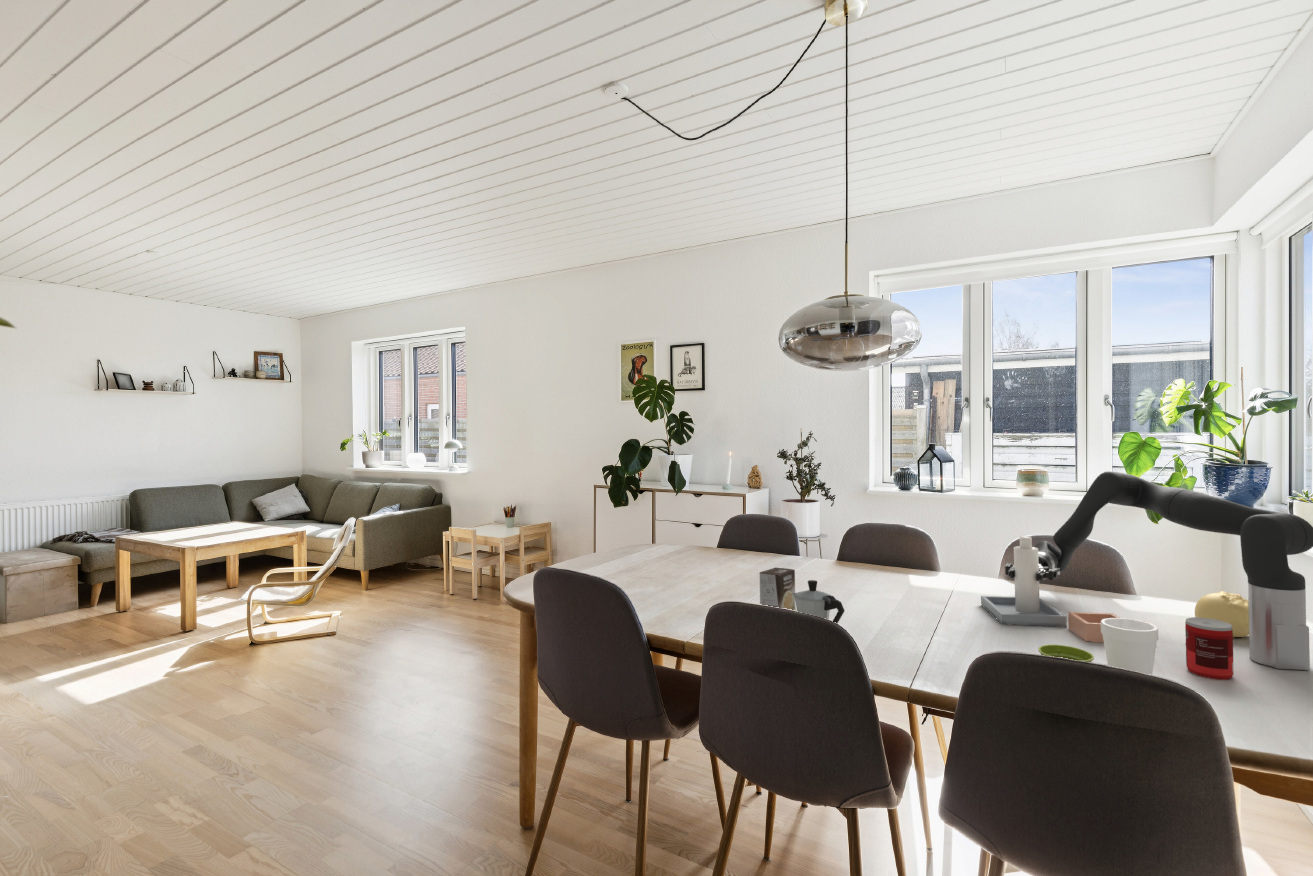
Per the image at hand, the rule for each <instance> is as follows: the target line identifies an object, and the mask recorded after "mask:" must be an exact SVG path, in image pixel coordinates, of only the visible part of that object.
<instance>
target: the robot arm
mask: <svg viewBox="0 0 1313 876" xmlns="http://www.w3.org/2000/svg"><path fill="white" fill-rule="evenodd" d="M1108 504H1112V505H1118V506H1123V507H1134V508H1139V509H1144V510H1148V511H1152V512H1155V513H1156V514H1158V515H1160V517H1162V518H1163V519H1166V520H1167V521H1169V522H1172V523H1174V524H1178V525H1181V526H1183V527H1187V528H1189V529H1194V530H1198V531H1202V532H1203V531H1205V532H1209V533H1211V532H1212V533H1218V534H1227V535H1233V536H1239V538H1240V541H1239V542H1240V550H1241V562H1242V567H1243V570H1244V572H1245V575H1246V576H1247V590H1248V591H1247V595H1248V596H1247V598H1248V600H1247V601H1248V612H1249V635H1248V647H1249V648H1248V649H1249V655H1248V656H1249V659H1250V660H1251V661H1254V662H1255V663H1258V664H1261V665H1265V666H1268V667H1272V668H1274V669H1277V670H1278V669H1279V670H1295V671H1296V670H1297V671H1298V670H1299V671H1301V670H1302V671H1310V670H1311V657H1310V653H1311V652H1310V627H1309V626H1307V607H1306V606H1307V604H1306V603H1307V601H1306V597H1307V596H1306V595H1307V594H1306V593H1307V592H1306V591H1307V590H1306V578H1305V576H1304V575H1303V574H1301V573H1299V572H1296V571H1293V569H1291V567H1289V561H1288V560H1289V559H1288V556H1294V555H1299V554H1302V553H1305V552H1307V551H1309V550H1311V549H1312V548H1313V526H1312V524H1310V522H1308V521H1307V520H1306V519H1304V518H1302V517H1301V516H1298V515H1296V514H1291V513H1288V512H1287V513H1286V512H1279V511H1272V510H1268V509H1267V510H1266V509H1263V508H1262V509H1261V508H1256V507H1252V506H1247V505H1243V504H1240V503H1237V502H1234V501H1230V500H1227V499H1223V498H1221V497H1217V496H1214V495H1209V494H1206V493H1203V492H1198V491H1195V490H1191V489H1186V488H1181V487H1177V486H1176V487H1175V486H1165V485H1159V484H1156V483H1154V482H1152V481H1149V480H1146V479H1144V478H1142V477H1139V476H1137V475H1133V474H1129V473H1124V472H1117V471H1104V472H1101V473H1100V474H1099V475H1097V477H1096V478H1095V479H1094V480H1093V482H1092V483H1091V485H1089V488H1088V490H1087V491H1086V493H1085V494H1084V496H1083V497H1082V499H1081V501H1080V502H1079V504H1078V506H1077V507H1076V509H1075V510H1074V511H1073V513H1072V515H1071V516H1070V517H1069V518H1068V519H1067V520H1066V521H1064V524H1062V525H1061V527H1060V528H1059V529H1058V530H1057V531H1056V532H1055V533H1054V534H1053V536H1052V540H1053V542H1054V544H1055V545H1056V546H1057V547H1056V546H1055V545H1054V544H1052V542H1050V541H1047V540H1041V541H1038V542H1037V543H1035V545H1034V546H1033V547H1036V548H1038V561H1039V572H1037V573H1036V581H1039V582H1040V581H1043V580H1047V579H1048V580H1050V581H1054V580H1056V579H1058V578H1060V577H1061V573H1062V572H1064V571H1065V570H1066V569H1067V568H1068V566H1069V564H1070V561H1071V559H1072V557H1073V555H1074V553H1075V551H1076V550H1077V549H1078V548H1079V547H1080V546H1081V545H1082V544H1083V543H1084V542H1085V541H1086V539H1087V538H1089V536H1090V535H1091V534H1092V531H1093V529H1094V523H1095V518H1096V515H1097V513H1098V512H1099V511H1100V510H1102V509H1103V508H1104V507H1105V506H1106V505H1108ZM1004 571H1005V572H1004V573H1005V575H1006V576H1008V577H1009V578H1011V579H1015V575H1014V563H1012V562H1006V564H1005V565H1004Z"/></svg>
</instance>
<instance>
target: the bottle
mask: <svg viewBox="0 0 1313 876" xmlns="http://www.w3.org/2000/svg"><path fill="white" fill-rule="evenodd" d="M1018 539H1019V546H1018V545H1017V546H1013V566H1014V575H1015V577H1014V597H1015V610H1016V611H1017V612H1019V613H1024V614H1039V613H1040V599H1041V597H1040V581H1036V573H1037V572H1039V561H1038V548H1036V547H1034V546H1033V541H1032V539H1033V538H1032V537H1030V536H1019V538H1018Z"/></svg>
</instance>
